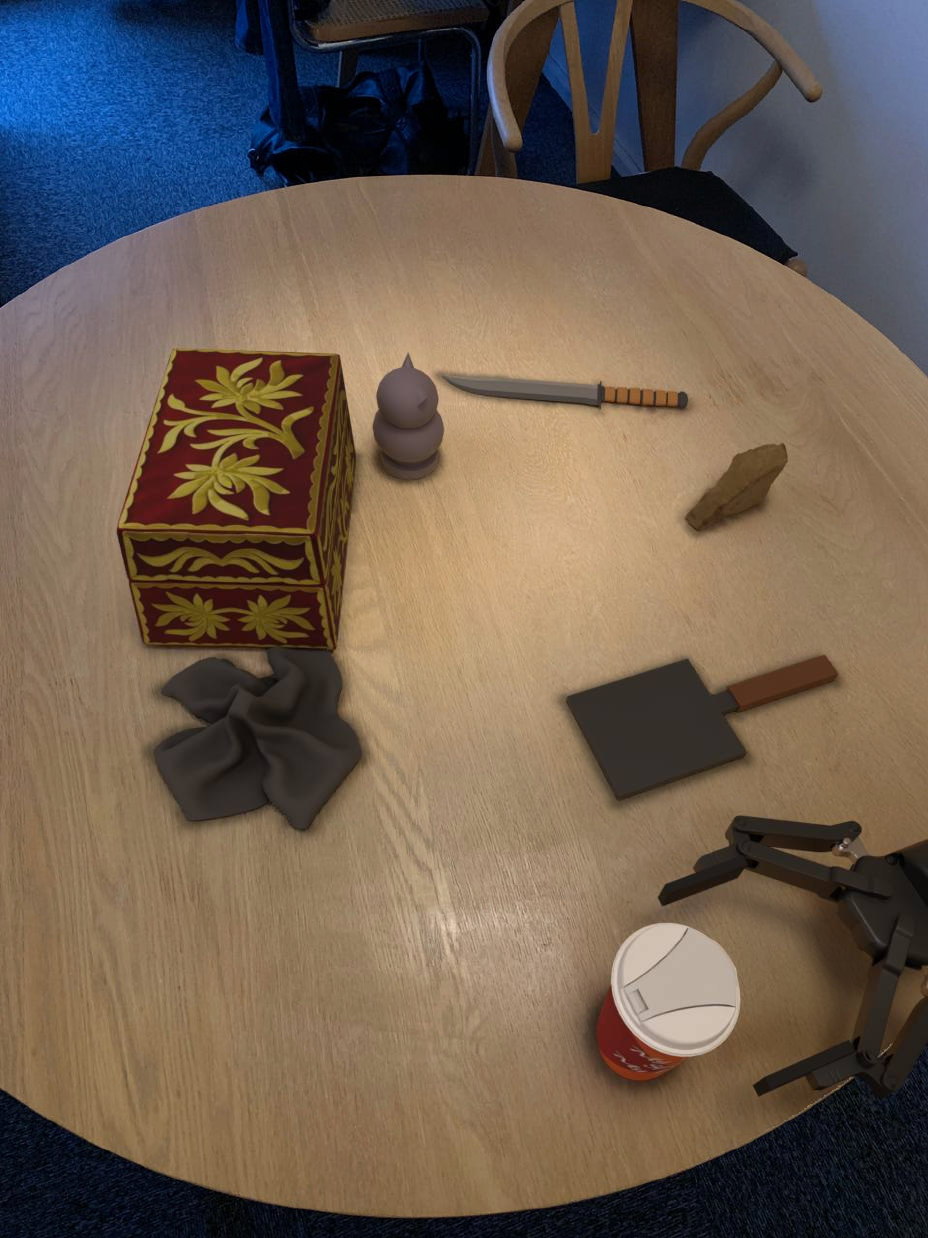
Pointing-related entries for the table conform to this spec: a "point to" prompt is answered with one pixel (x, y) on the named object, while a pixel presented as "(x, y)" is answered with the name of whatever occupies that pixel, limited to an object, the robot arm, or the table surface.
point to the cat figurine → (408, 422)
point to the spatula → (676, 720)
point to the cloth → (259, 737)
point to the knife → (566, 391)
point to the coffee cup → (666, 1001)
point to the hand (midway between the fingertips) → (709, 986)
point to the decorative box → (242, 502)
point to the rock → (740, 484)
